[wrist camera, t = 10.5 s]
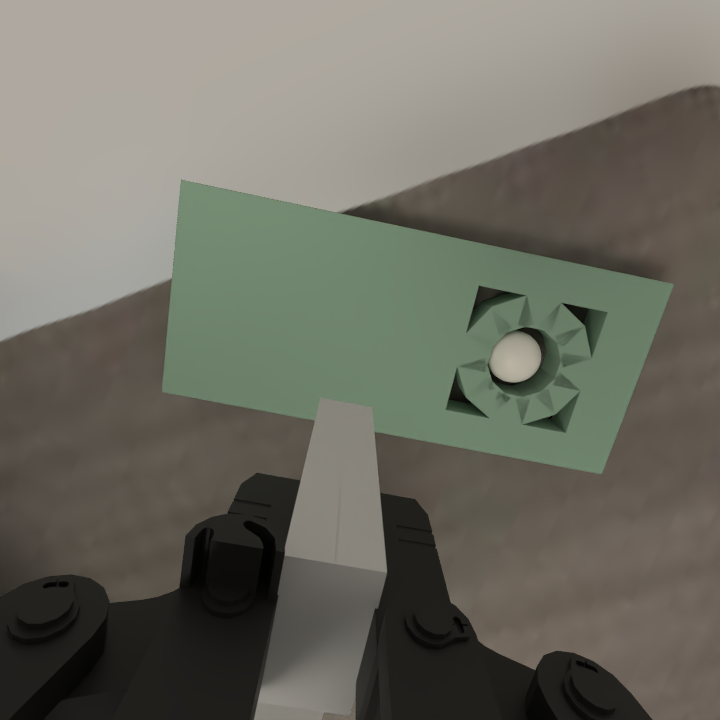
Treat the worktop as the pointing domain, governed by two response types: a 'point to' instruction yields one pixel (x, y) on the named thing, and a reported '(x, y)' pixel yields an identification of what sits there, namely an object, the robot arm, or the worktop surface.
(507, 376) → the ball
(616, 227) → the worktop surface
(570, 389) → the plate
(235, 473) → the worktop surface
